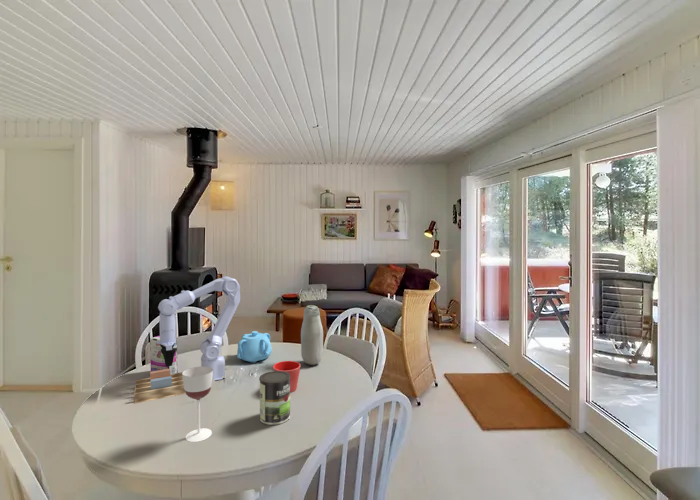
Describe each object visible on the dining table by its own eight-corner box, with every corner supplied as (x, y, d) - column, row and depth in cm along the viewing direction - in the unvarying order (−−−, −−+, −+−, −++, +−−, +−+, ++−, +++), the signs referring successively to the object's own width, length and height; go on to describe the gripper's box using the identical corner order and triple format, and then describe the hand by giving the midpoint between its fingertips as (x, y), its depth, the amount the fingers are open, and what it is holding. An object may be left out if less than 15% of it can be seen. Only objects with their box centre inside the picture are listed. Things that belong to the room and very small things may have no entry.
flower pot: (306, 388, 146) (306, 365, 145) (283, 397, 138) (283, 372, 137) (289, 381, 153) (289, 358, 153) (267, 389, 145) (267, 365, 145)
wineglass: (188, 428, 116) (187, 367, 115) (216, 427, 117) (216, 366, 116) (179, 442, 108) (178, 377, 107) (209, 441, 109) (208, 376, 108)
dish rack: (184, 380, 153) (184, 371, 153) (188, 395, 140) (188, 385, 139) (134, 389, 145) (134, 379, 144) (133, 406, 131) (133, 395, 130)
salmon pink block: (170, 382, 148) (169, 368, 148) (170, 384, 147) (170, 370, 146) (150, 386, 145) (150, 371, 145) (150, 388, 143) (150, 373, 143)
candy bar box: (178, 374, 160) (177, 337, 159) (169, 378, 155) (168, 340, 154) (159, 370, 164) (159, 334, 163) (150, 374, 159) (149, 337, 158)
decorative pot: (242, 353, 188) (242, 327, 187) (273, 353, 189) (273, 327, 188) (233, 365, 172) (233, 336, 171) (268, 364, 172) (267, 336, 172)
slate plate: (171, 391, 141) (171, 376, 141) (172, 393, 139) (171, 378, 139) (151, 395, 137) (150, 379, 137) (151, 397, 136) (150, 381, 135)
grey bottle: (326, 362, 175) (326, 304, 174) (313, 369, 167) (313, 308, 165) (310, 358, 181) (310, 302, 179) (297, 364, 172) (296, 306, 170)
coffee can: (296, 414, 125) (296, 374, 124) (275, 428, 116) (275, 385, 116) (274, 407, 131) (274, 368, 130) (253, 419, 122) (252, 378, 121)
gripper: (155, 326, 150) (156, 359, 151) (156, 335, 138) (157, 370, 138) (174, 324, 154) (175, 356, 154) (177, 332, 141) (178, 367, 142)
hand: (168, 362), depth 146 cm, fingers open, 7 cm apart
